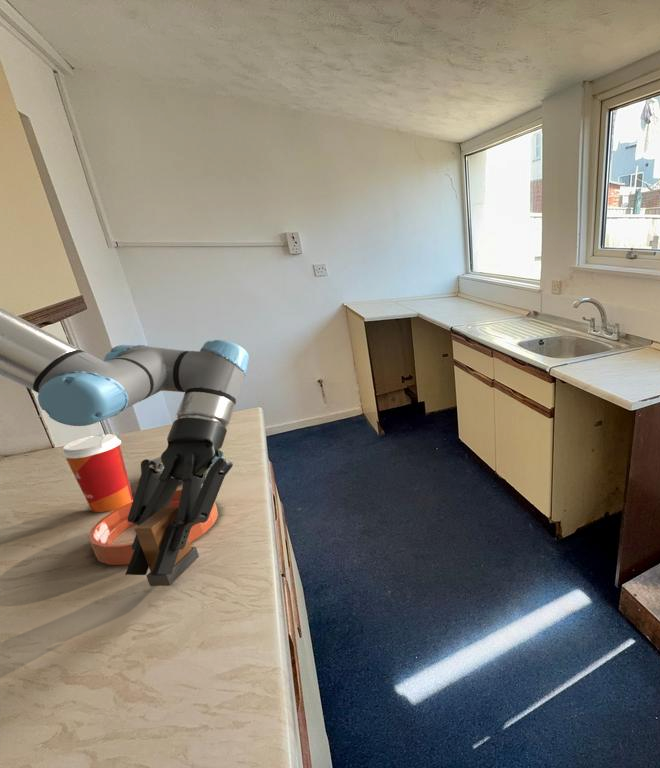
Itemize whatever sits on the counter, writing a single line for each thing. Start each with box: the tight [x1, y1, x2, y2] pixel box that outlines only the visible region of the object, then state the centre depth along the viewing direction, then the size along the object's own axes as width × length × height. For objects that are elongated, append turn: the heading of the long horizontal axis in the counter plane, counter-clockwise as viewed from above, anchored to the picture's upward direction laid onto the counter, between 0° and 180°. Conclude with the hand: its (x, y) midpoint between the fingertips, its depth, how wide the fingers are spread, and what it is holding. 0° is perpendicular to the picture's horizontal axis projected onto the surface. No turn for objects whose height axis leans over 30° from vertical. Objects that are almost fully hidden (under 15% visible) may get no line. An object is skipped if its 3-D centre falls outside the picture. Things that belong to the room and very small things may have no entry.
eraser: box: [134, 507, 200, 587], centre depth 61 cm, size 6×3×10 cm, turn 1°
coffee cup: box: [61, 433, 134, 513], centre depth 80 cm, size 8×8×15 cm
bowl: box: [87, 488, 219, 566], centre depth 73 cm, size 17×17×4 cm
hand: (148, 574), depth 58 cm, fingers closed on eraser, 3 cm apart
